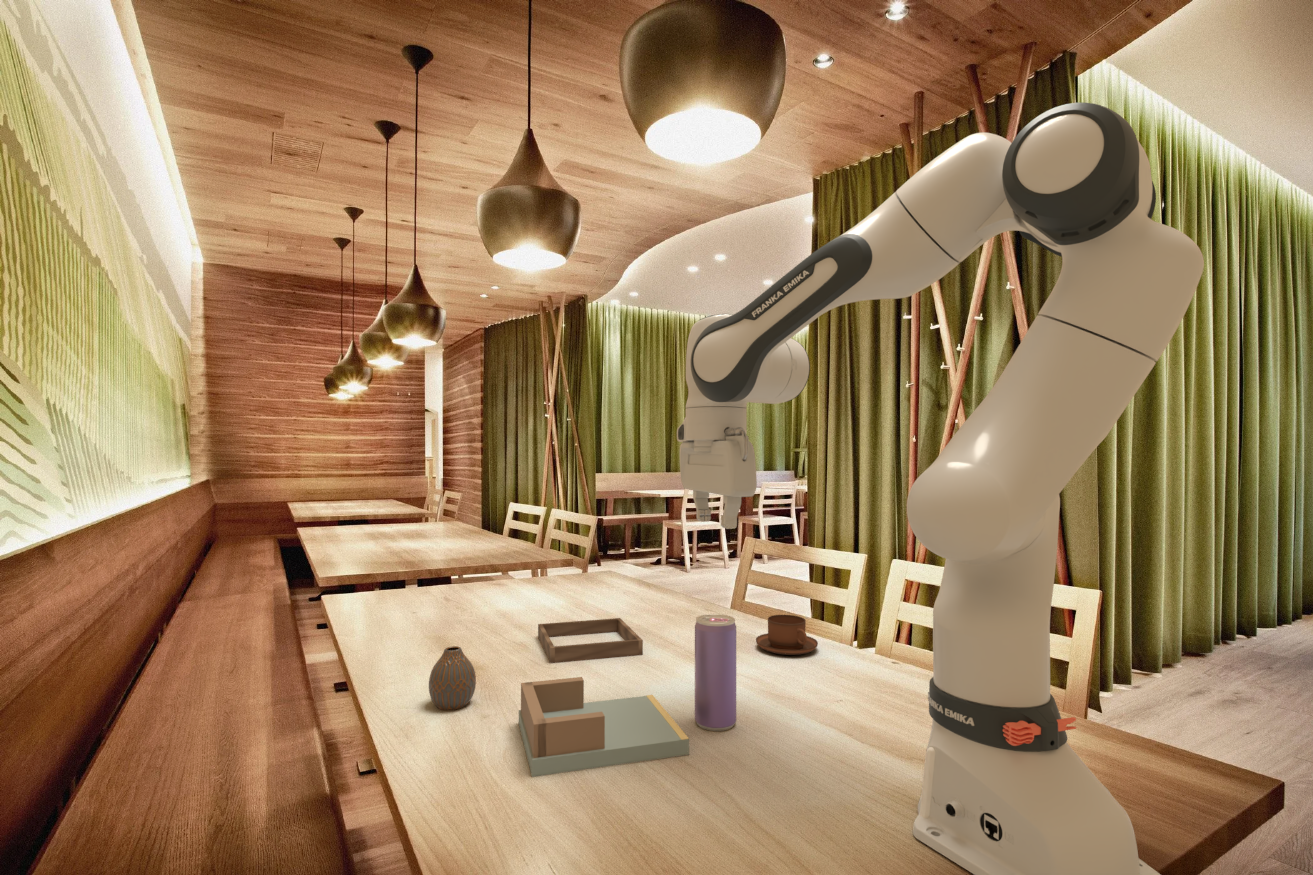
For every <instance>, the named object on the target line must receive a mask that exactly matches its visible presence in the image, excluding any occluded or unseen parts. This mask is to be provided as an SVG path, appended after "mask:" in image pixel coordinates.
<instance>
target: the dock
mask: <svg viewBox="0 0 1313 875" xmlns="http://www.w3.org/2000/svg"><path fill="white" fill-rule="evenodd" d="M584 682H585V680H584V678H583V676H578V677H577V676H576V677H567V678H558V679H547V680H537V681H528V682H521V683H520V709H518V727H519V730H520V735H521V738H522V739H521V740H522V742H523V746H524V751H525V755H526V759H527V762H528V767H529V770H530V775H531V777H532V778H534V777H543V776H549V775H556V774H561V773H571V772H576V771H583V770H591V769H597V768H605V767H612V766H619V765H624V764H625V765H626V764H633V763H640V761H641V762H646V761H647V762H648V761H655V760H663V759H668V758H674V757H675V756H676V757H681V756H688V755H690V738H689V737H688V735H686V733H685V732H684V731H683V729H682V728H681V727H680V726H679V725H678V723H677V722H676V721H675V720H674V719H673V718H672V716H671V715H670V714H669V713H668V712H667V710H666V709H665V708H664V707H663V706H662V704H661V703H660V702H659V701H658V700H657V699H656V697H655V695H653V694H647V695H643V696H635V697H634V696H633V697H624V698H623V697H622V698H616V699H614V698H613V699H606V700H599V701H598V700H597V701H590V702H588V701H587V702H585V701H584V698H585V697H584V695H585V694H584V691H585V690H584V687H585V683H584Z"/></svg>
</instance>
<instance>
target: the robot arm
mask: <svg viewBox="0 0 1313 875" xmlns="http://www.w3.org/2000/svg"><path fill="white" fill-rule="evenodd" d="M1152 179H1153V178H1152V170H1151V164H1150V160H1149V158H1148V155H1147V153H1146V150H1145V149H1144V147H1143V146H1142V144H1141V143H1140V141H1139V139H1138V138H1137V135H1136V133H1135V131H1134V129H1133V127H1132V125H1131V124H1130V123H1129V122H1128V120H1126V119H1125V118H1124V117H1123V116H1121V115H1120V114H1119V113H1117V112H1115V111H1114V110H1112V109H1110V108H1108V107H1106V106H1104V105H1100V104H1098V103H1097V104H1096V103H1093V102H1072V103H1066V104H1061V105H1058V106H1055V107H1053V108H1050V109H1048V110H1046V111H1044V112H1043V113H1041V114H1039V115H1037V116H1036V117H1035V118H1033V119H1032V120H1031V121H1030V122H1029V123H1027V124H1026V125H1025V126H1024V127H1023V128H1022V129H1021V130H1020V131H1019V132H1018V134H1017V135H1016V136H1015V137H1014V138H1013V140H1012V142H1011V141H1010V140H1009V139H1007V138H1005V137H1003V136H1000V135H998V134H996V133H990V132H976V133H972V134H970V135H967V136H966V137H963V139H960V140H959V141H958V142H956V143H954V144H953V145H952V146H950V147H949V148H947V149H946V150H944V151H942V153H940V154H939V155H938V156H936V157H935V158H933V159H932V160H930V162H928V163H927V164H926V165H924V166H923V167H922V168H920V169H919V170H918V171H917V172H916V173H915V174H913V175H912V176H911V177H910V178H909V179H907V181H905V182H904V183H903V184H902V185H901V186H900V187H899V188H897V190H896V191H894V192H893V194H891V195H890V196H889V197H888V198H887V199H885V201H883V203H881V204H879V206H878V207H876V208H875V209H874V210H873V211H872V212H871V213H869V214H868V215H867V216H866V217H865V218H863V219H862V220H861V221H858V223H856V224H855V225H854V226H853V227H851V228H849V229H848V230H847V231H845V232H844V233H842V234H841V235H839V236H836V237H835V238H834V239H832V240H830V241H829V242H827V243H826V244H824V245H822V246H820V247H819V248H818V249H816V250H815V251H814V252H812V253H811V254H810V255H808V256H806V257H805V258H804V259H803V260H802V261H800V262H799V263H798V264H797V265H795V266H794V267H793V268H792V269H790V270H789V271H788V272H787V273H785V274H784V275H783V276H782V277H780V278H779V279H778V280H777V281H776V282H774V283H773V284H772V285H771V286H770V287H768V288H767V289H766V290H765V291H763V292H762V293H761V294H760V295H759V296H758V297H756V298H755V299H754V300H752V301H751V302H749V304H747V305H746V306H744V308H742V309H741V310H739V311H738V312H736V313H734V314H732V313H718V314H712V315H707V316H705V317H702V318H700V319H699V320H697V321H696V322H695V323H694V324H692V327H691V329H690V330H689V334H688V338H687V342H686V343H687V344H686V352H685V353H686V355H685V381H686V385H687V389H688V392H687V393H688V395H687V400H686V403H685V417H684V418H683V419H684V420H683V421H682V423H681V424H680V425H679V426H678V427H677V430H676V440H677V442H679V443H681V444H680V445H679V468H680V469H679V471H680V472H679V473H680V474H679V475H680V481H681V485H682V487H683V489H685V490H691V491H692V498H693V503H694V507H695V509H696V520H697V521H698V522H703V523H704V522H707V523H708V522H710V521H711V519H712V516H711V515H712V509H710V507H709V498H710V494H712V495H713V494H714V495H719V496H721V495H722V502H723V504H724V508H723V514H721V515H720V526H721V528H723V529H726V530H732V529H733V530H734V529H736V528H737V526H738V516H739V513H740V512H739V511H740V509H741V506H742V498H744V497H745V498H746V497H747V498H748V497H754V495H755V494H756V491H757V487H758V486H757V485H758V484H757V483H758V482H757V480H758V479H757V466H756V465H757V464H756V455H755V454H756V453H755V448H754V445H753V443H752V442H751V441H750V439H749V435H747V434H748V433H747V426H748V425H747V423H748V422H747V421H748V420H747V417H748V416H747V414H748V413H747V412H748V411H747V405H748V403H751V404H752V403H755V404H769V405H770V404H771V405H777V404H778V405H779V404H782V403H787V402H790V401H792V400H794V399H796V398H797V397H798V396H799V395H800V394H802V392H803V391H804V389H805V387H806V386H807V384H808V380H809V377H810V372H811V362H810V358H809V354H808V352H807V350H806V349H805V347H804V346H803V345H802V344H801V343H800V342H799V341H797V340H795V339H793V337H794V336H796V335H797V334H799V332H801V331H802V330H803V329H804V328H806V327H807V326H809V325H810V324H812V323H813V322H814V321H815V320H816V319H818V318H820V317H821V316H822V315H824V314H826V313H827V312H829V311H830V310H833V309H835V308H838V307H841V306H844V305H847V304H852V303H858V302H862V301H863V302H864V301H872V300H873V301H874V300H895V299H897V300H898V299H904V298H909V297H912V296H913V295H915V294H917V293H919V292H920V291H922V290H925V289H926V288H928V287H929V286H931V285H933V284H935V283H936V282H937V281H939V280H941V279H942V278H943V277H945V276H946V275H947V274H949V273H950V272H951V271H952V270H954V269H955V268H956V267H957V266H958V265H959V264H961V263H962V262H963V261H965V259H967V258H968V257H969V256H970V255H971V254H972V253H973V252H975V251H976V250H977V249H978V248H980V246H982V245H984V244H985V243H986V242H988V241H989V240H990V239H992V238H994V237H996V236H997V235H1000V234H1002V233H1005V232H1006V233H1007V232H1010V231H1016V232H1018V231H1019V233H1020V236H1022V238H1024V239H1026V240H1028V241H1030V242H1032V243H1033V244H1035V245H1038V246H1040V247H1042V248H1044V249H1045V250H1047V251H1048V252H1050V253H1052V254H1054V255H1056V256H1058V257H1061V258H1062V261H1061V262H1062V263H1061V269H1060V273H1059V276H1058V279H1057V281H1056V283H1055V285H1054V286H1053V288H1052V291H1051V292H1050V294H1049V296H1048V297H1047V298H1046V300H1045V302H1044V303H1043V305H1042V306H1041V308H1040V310H1039V312H1038V313H1037V314H1038V315H1036V316H1035V318H1034V320H1033V321H1032V323H1031V325H1030V326H1029V328H1028V330H1027V332H1026V333H1025V335H1024V337H1023V338H1022V340H1021V341H1020V344H1018V346H1017V348H1016V349H1015V351H1014V353H1013V355H1012V356H1011V358H1010V360H1009V361H1008V363H1007V364H1006V366H1005V368H1004V369H1003V371H1002V373H1001V374H1000V376H999V378H998V379H997V380H996V382H995V383H994V385H993V387H992V388H991V389H990V391H989V392H988V393H987V395H986V396H985V397H984V399H982V401H981V402H980V403H979V405H978V406H977V407H976V408H975V409H974V411H973V412H972V413H971V414H970V415H969V416H968V418H967V419H965V421H964V423H963V424H961V426H960V427H959V428H958V430H957V431H956V432H955V433H954V435H953V436H952V438H950V440H949V441H948V442H947V444H946V445H945V447H943V449H942V451H941V452H940V453H939V455H938V456H937V457H936V459H935V460H934V461H933V462H932V463H931V464H930V465H929V466H928V467H927V468H926V469H925V470H924V471H923V472H922V473H921V474H920V475H919V476H918V477H917V478H916V480H914V482H913V484H912V486H911V487H910V490H909V492H908V496H907V500H906V516H907V521H908V524H909V526H910V529H911V531H912V532H913V535H914V536H915V537H916V539H917V540H918V541H919V543H921V544H922V546H924V547H925V548H926V549H927V550H928V551H930V552H932V554H935V555H937V556H939V557H941V558H943V559H945V561H944V569H943V573H942V578H941V581H940V586H939V591H938V593H937V596H936V598H935V601H934V605H933V609H932V655H933V657H932V658H933V659H932V662H933V663H932V667H933V670H932V672H933V674H932V677H931V678H930V679H929V686H928V687H929V688H928V692H927V699H928V700H927V701H928V714H929V716H930V717H931V718H932V725H931V730H930V735H929V740H928V742H927V746H926V750H925V756H924V757H925V758H924V764H923V766H924V767H923V774H922V785H921V794H920V798H919V799H918V800H919V801H918V803H917V813H918V815H917V816H916V817H915V820H913V821H914V822H913V827H912V828H913V829H912V835H913V837H914V838H916V839H917V840H918V841H920V842H922V843H923V844H925V845H927V846H928V847H930V848H931V849H933V850H934V851H936V852H937V853H939V854H940V855H943V857H946V858H947V859H949V860H950V861H952V862H954V863H956V864H957V865H959V866H960V868H961V867H962V868H963V869H965V870H967V871H968V872H970V873H971V874H973V875H1162V874H1160V872H1158V871H1156V869H1154V868H1152V867H1151V866H1150V865H1148V864H1147V863H1146V862H1145V861H1143V860H1142V859H1140V858H1139V852H1138V845H1137V839H1136V834H1135V830H1134V826H1133V823H1132V821H1131V818H1130V816H1129V814H1128V813H1127V810H1126V809H1125V808H1124V807H1123V806H1122V805H1121V804H1120V803H1119V801H1118V800H1117V799H1115V798H1116V797H1114V796H1113V795H1112V793H1111V792H1110V790H1109V789H1108V788H1107V787H1106V786H1105V785H1104V784H1103V783H1102V782H1101V781H1100V780H1099V779H1098V778H1097V776H1096V775H1095V774H1094V773H1093V772H1092V771H1091V770H1090V768H1089V767H1088V766H1087V765H1086V763H1085V762H1084V761H1083V760H1082V759H1081V757H1080V756H1079V755H1078V754H1077V753H1076V751H1075V750H1073V748H1072V747H1071V745H1069V743H1068V734H1067V732H1066V731H1069V730H1077V727H1076V726H1075V725H1074V726H1073V725H1072V726H1069V725H1071V724H1072V723H1074V722H1075V721H1077V718H1076V717H1074V716H1071V717H1066V718H1062V717H1061V713H1060V710H1059V708H1058V705H1057V702H1056V699H1055V698H1054V695H1053V694H1051V642H1050V641H1051V635H1050V634H1051V631H1050V630H1051V629H1050V628H1051V613H1052V612H1051V610H1052V602H1053V601H1052V600H1053V594H1054V585H1055V576H1056V575H1055V574H1056V565H1057V554H1058V545H1059V544H1058V543H1059V542H1058V541H1059V525H1060V510H1061V509H1060V508H1061V498H1060V497H1061V496H1060V494H1061V492H1062V491H1063V489H1064V488H1065V487H1066V486H1067V484H1069V482H1070V481H1071V479H1072V478H1073V477H1074V475H1075V474H1076V473H1077V472H1078V470H1079V469H1080V468H1081V467H1082V466H1083V464H1084V463H1085V462H1086V461H1087V459H1088V458H1089V457H1091V454H1092V453H1093V452H1094V451H1095V450H1096V448H1097V447H1099V445H1100V444H1101V443H1102V442H1103V441H1104V439H1106V437H1107V436H1108V435H1109V433H1110V432H1111V430H1112V428H1113V427H1114V426H1115V425H1116V423H1117V422H1118V420H1119V419H1120V417H1121V416H1122V414H1123V413H1124V411H1125V410H1126V408H1127V407H1128V405H1129V404H1130V402H1131V401H1132V400H1133V398H1134V396H1135V395H1136V394H1137V392H1138V390H1139V389H1140V387H1141V386H1142V384H1143V383H1144V382H1145V380H1146V379H1147V377H1148V376H1149V374H1150V373H1151V371H1152V370H1153V368H1154V366H1155V365H1156V363H1157V362H1158V361H1159V360H1160V358H1161V356H1162V355H1163V353H1164V351H1165V350H1166V348H1167V347H1168V346H1169V343H1170V342H1171V340H1172V339H1173V337H1174V335H1175V333H1176V332H1177V330H1178V328H1179V327H1180V324H1181V322H1182V320H1183V318H1184V317H1185V314H1186V312H1187V311H1188V308H1189V306H1190V304H1191V302H1192V300H1193V297H1194V295H1195V294H1196V293H1195V292H1196V291H1197V289H1198V288H1197V287H1198V285H1199V283H1200V280H1201V278H1202V275H1203V272H1204V269H1205V268H1204V267H1205V262H1204V255H1203V253H1202V251H1201V248H1200V247H1199V245H1198V244H1196V243H1195V241H1194V240H1193V239H1192V238H1190V237H1189V236H1188V235H1187V234H1185V233H1184V232H1182V231H1181V230H1178V229H1177V228H1174V227H1172V226H1170V225H1166V224H1163V223H1160V222H1157V221H1155V220H1153V219H1152V218H1153V215H1154V211H1155V207H1156V203H1157V192H1156V188H1155V184H1154V181H1153V180H1152ZM1067 725H1068V726H1067Z"/></svg>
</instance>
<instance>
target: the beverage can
mask: <svg viewBox="0 0 1313 875" xmlns="http://www.w3.org/2000/svg"><path fill="white" fill-rule="evenodd" d="M695 620H696V621H695V623H694V624H695V625H694V721H695V722H696V725H697V726H698V727H700V728H701V729H704V730H706V731H711V732H723V731H728V730H731V728H733V727H734V726H735V724H736V722H737V625H736V618H735V617H733V616H731V615H727V614H720V613H705V614H701V615H699V616H697V617H696V618H695Z"/></svg>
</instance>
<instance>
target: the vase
mask: <svg viewBox="0 0 1313 875" xmlns="http://www.w3.org/2000/svg"><path fill="white" fill-rule="evenodd" d="M442 652H443V653H442V655H441V656H440V658H439V659H438V660H437V661H436V663H434V666H433V667H432V669H431V671H430V675H429V679H428V694H429V696H430V699H431V702H432V703H433V705H434V706H436V707H437V708H438V709H439V710H443V711H455V710H460V709H462V708H464V707H465V706H467V705H468V703H470V701H471V700H472V698H473V696H474V694H475V690H476V684H477V676H476V675H477V674H476V671H475V668H474V665H473V664H472V662H471V661H470V660H469V658H468V657H467V656H466V655H465V653H464V651H463V649H462V647H461V646H455V645H453V646H448V647H445V648H444V650H443V651H442Z"/></svg>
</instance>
